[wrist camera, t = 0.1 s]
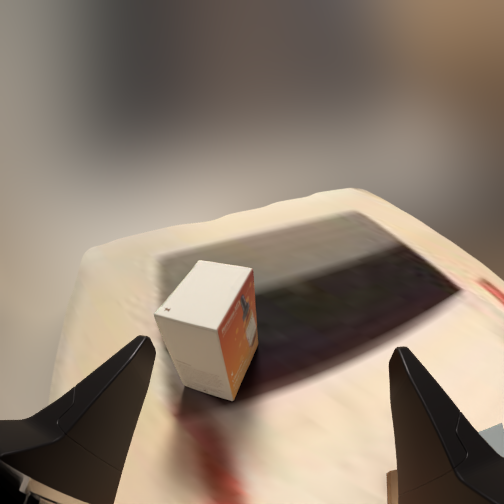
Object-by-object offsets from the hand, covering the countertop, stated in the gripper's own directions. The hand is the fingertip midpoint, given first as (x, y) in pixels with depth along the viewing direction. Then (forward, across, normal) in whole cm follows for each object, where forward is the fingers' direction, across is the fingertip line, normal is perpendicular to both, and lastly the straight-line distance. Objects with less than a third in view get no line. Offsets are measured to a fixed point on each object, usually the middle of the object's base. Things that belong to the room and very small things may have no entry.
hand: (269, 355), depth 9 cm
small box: (+11, +6, +17) cm, 21 cm away
